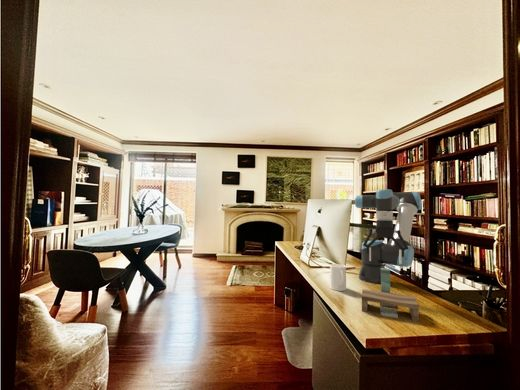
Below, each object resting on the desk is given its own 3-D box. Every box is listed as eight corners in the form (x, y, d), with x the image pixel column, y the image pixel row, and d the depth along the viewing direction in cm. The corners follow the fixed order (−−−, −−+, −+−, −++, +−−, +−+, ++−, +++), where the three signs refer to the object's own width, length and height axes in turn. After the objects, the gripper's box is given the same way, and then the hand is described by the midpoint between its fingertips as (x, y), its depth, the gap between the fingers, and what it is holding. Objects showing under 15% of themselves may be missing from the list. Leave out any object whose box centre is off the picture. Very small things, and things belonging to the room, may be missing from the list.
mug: (350, 293, 121) (350, 269, 121) (333, 292, 121) (333, 268, 122) (344, 286, 132) (343, 263, 133) (328, 285, 133) (328, 263, 134)
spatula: (378, 291, 124) (378, 267, 125) (392, 293, 122) (391, 269, 122) (379, 305, 106) (379, 277, 107) (395, 308, 104) (395, 279, 104)
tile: (380, 310, 102) (380, 306, 102) (396, 313, 99) (396, 309, 100) (380, 316, 97) (380, 312, 97) (397, 319, 94) (397, 315, 94)
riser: (362, 302, 109) (362, 289, 109) (414, 311, 101) (414, 296, 101) (361, 311, 100) (361, 296, 100) (418, 321, 92) (418, 305, 92)
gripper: (357, 219, 125) (358, 260, 124) (414, 220, 114) (415, 266, 113) (358, 218, 132) (358, 258, 130) (412, 220, 121) (412, 263, 120)
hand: (385, 262), depth 122 cm, fingers open, 13 cm apart
